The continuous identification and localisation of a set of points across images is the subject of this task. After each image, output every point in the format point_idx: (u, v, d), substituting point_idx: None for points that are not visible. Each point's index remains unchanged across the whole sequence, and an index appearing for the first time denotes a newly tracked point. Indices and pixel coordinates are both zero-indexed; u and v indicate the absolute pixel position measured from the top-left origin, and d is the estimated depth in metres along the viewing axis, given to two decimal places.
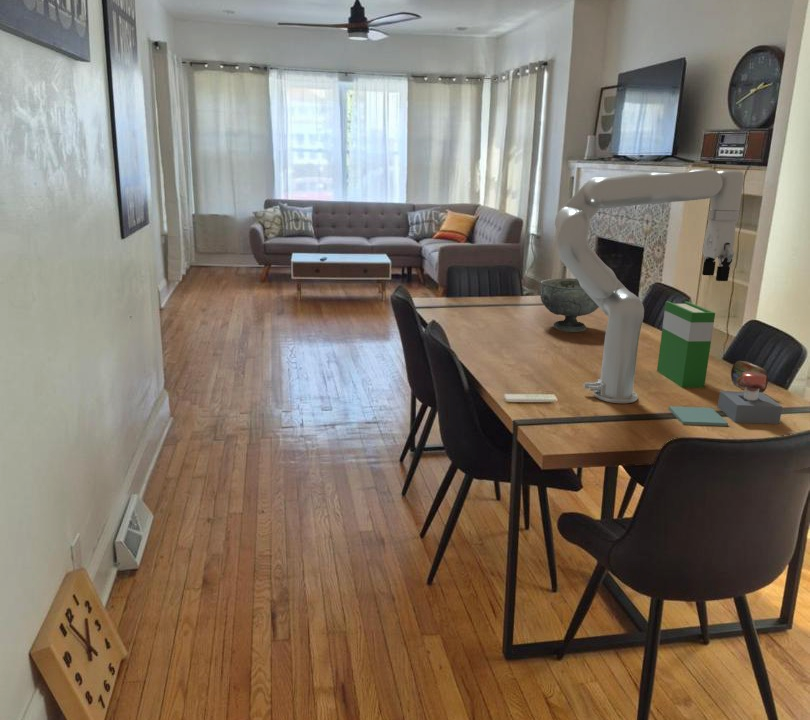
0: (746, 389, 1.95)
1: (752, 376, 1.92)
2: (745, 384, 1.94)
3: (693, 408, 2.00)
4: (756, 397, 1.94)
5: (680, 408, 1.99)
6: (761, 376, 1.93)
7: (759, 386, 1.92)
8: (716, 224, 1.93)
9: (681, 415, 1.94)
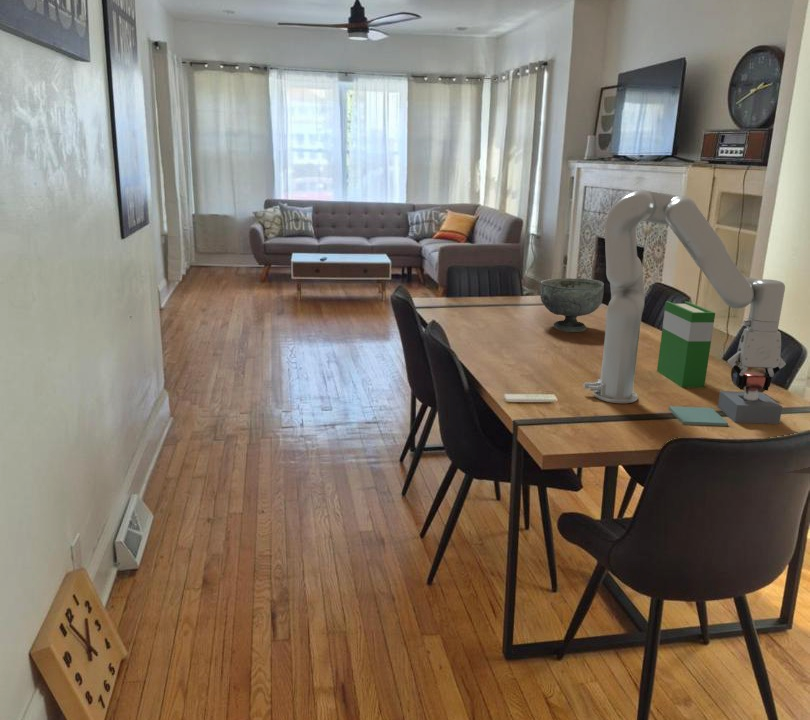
0: (746, 389, 1.95)
1: (752, 376, 1.92)
2: (745, 384, 1.94)
3: (693, 408, 2.00)
4: (756, 397, 1.94)
5: (680, 408, 1.99)
6: (761, 376, 1.93)
7: (759, 386, 1.92)
8: (774, 335, 1.88)
9: (681, 415, 1.94)
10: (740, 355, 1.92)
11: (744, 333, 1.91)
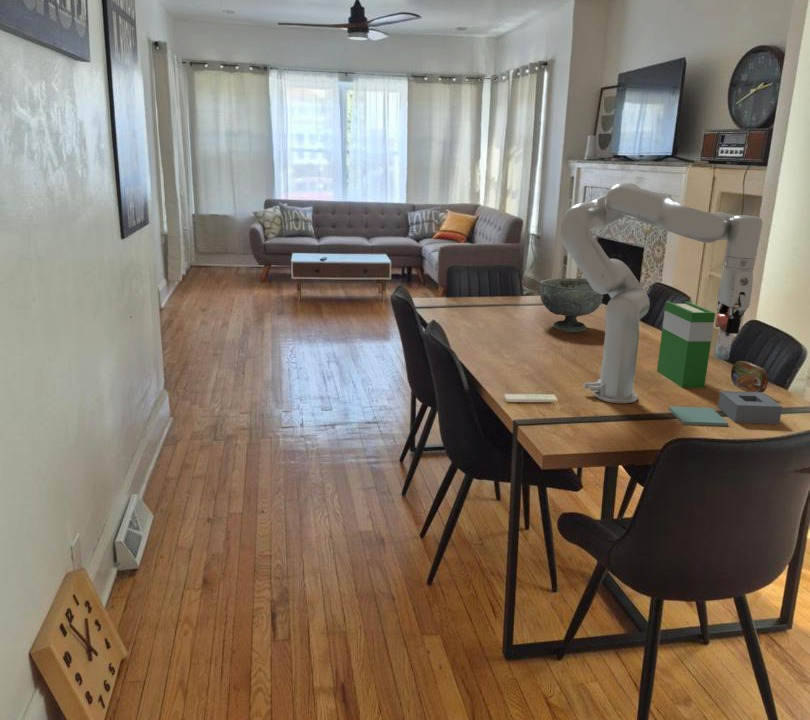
0: None
1: None
2: None
3: (693, 408, 2.00)
4: None
5: (680, 408, 1.99)
6: None
7: None
8: None
9: (681, 415, 1.94)
10: (746, 298, 1.82)
11: (745, 275, 1.80)
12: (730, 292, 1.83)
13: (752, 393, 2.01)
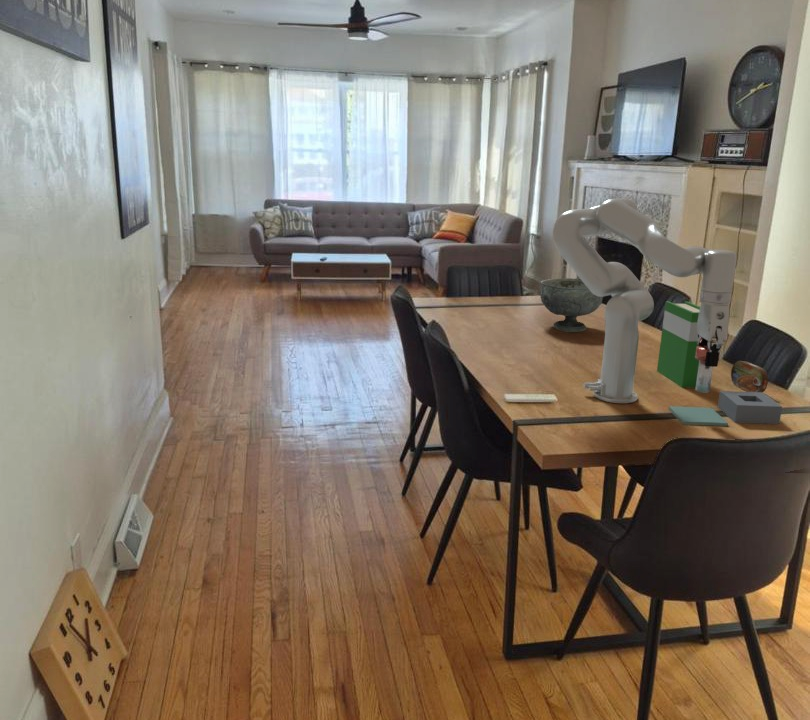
0: None
1: None
2: None
3: (693, 408, 2.00)
4: None
5: (680, 408, 1.99)
6: None
7: None
8: None
9: (681, 415, 1.94)
10: (723, 332, 1.83)
11: (721, 309, 1.82)
12: (707, 326, 1.85)
13: (752, 393, 2.01)
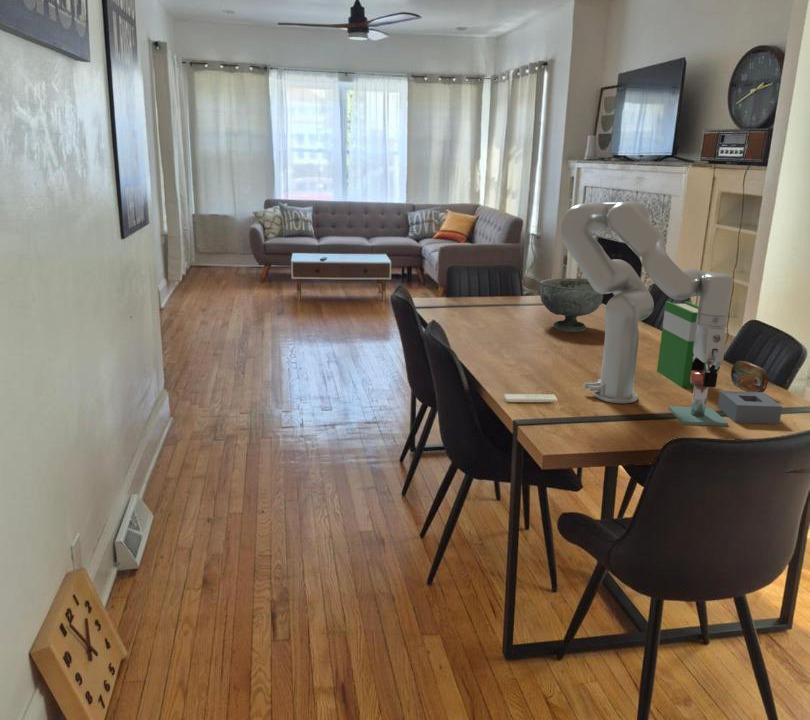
0: (705, 389, 1.91)
1: None
2: None
3: None
4: None
5: (680, 408, 1.99)
6: (706, 371, 1.93)
7: None
8: None
9: (681, 415, 1.94)
10: (719, 354, 1.85)
11: (717, 332, 1.84)
12: (703, 348, 1.86)
13: (752, 393, 2.01)
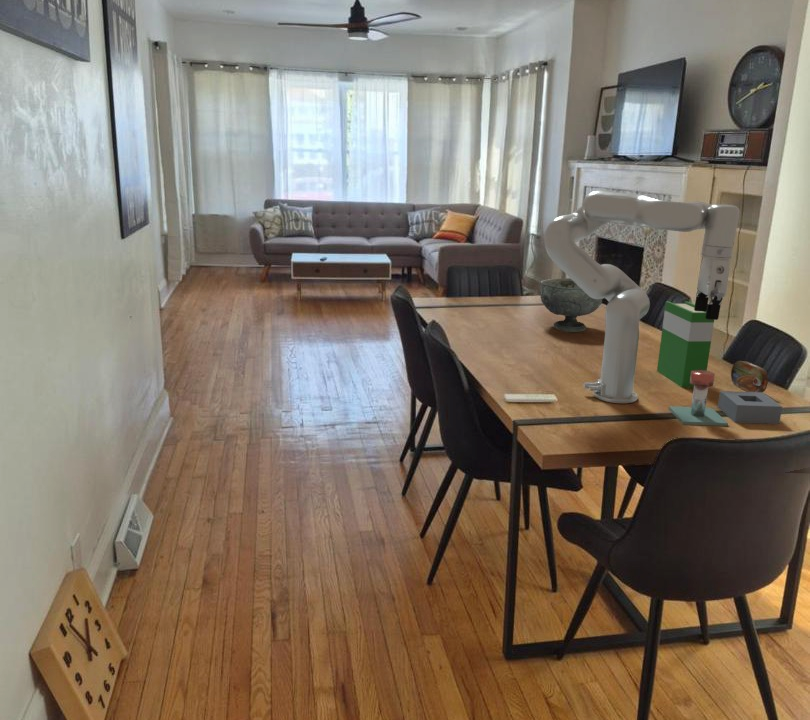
0: (705, 389, 1.91)
1: (711, 374, 1.90)
2: (710, 384, 1.90)
3: None
4: None
5: (680, 408, 1.99)
6: (706, 371, 1.93)
7: None
8: None
9: (681, 415, 1.94)
10: (722, 286, 1.84)
11: (721, 263, 1.83)
12: (707, 280, 1.85)
13: (752, 393, 2.01)
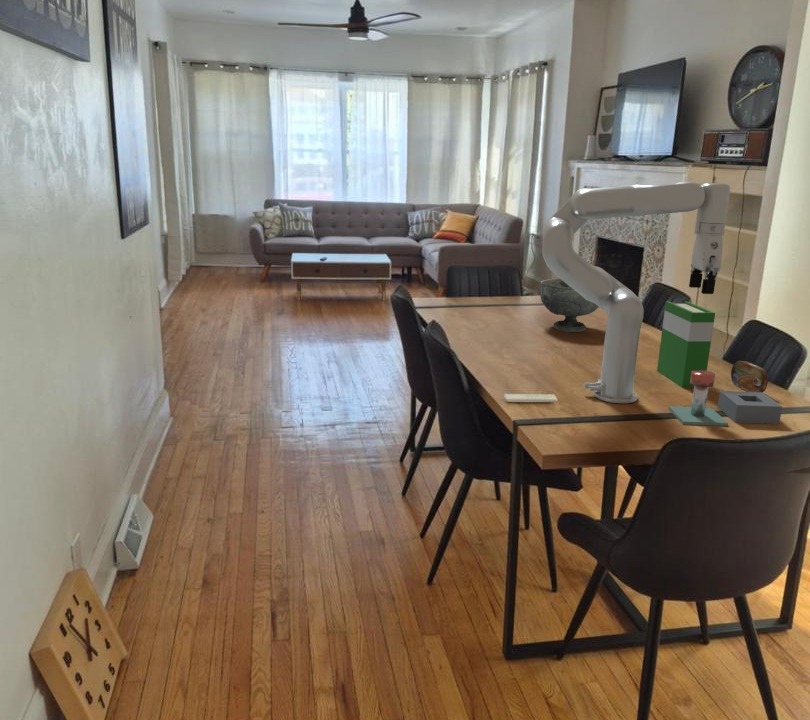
0: (705, 389, 1.91)
1: (712, 374, 1.90)
2: (710, 385, 1.90)
3: None
4: None
5: (680, 408, 1.99)
6: (706, 371, 1.93)
7: None
8: None
9: (681, 415, 1.94)
10: (716, 261, 1.91)
11: (715, 239, 1.90)
12: (701, 256, 1.93)
13: (752, 393, 2.01)
